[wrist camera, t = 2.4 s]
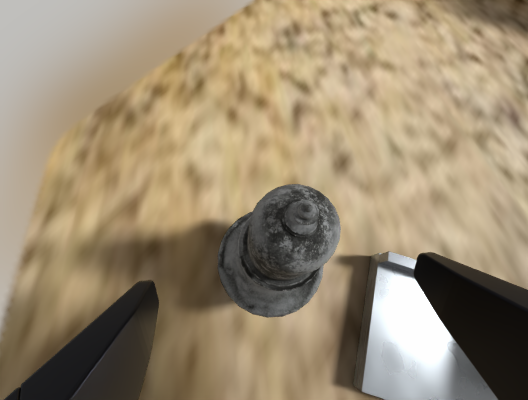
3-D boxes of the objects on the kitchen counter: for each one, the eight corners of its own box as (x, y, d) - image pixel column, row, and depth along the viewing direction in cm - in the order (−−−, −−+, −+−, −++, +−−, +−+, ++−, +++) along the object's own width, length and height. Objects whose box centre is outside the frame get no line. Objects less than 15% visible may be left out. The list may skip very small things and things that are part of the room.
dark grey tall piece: (204, 261, 17) (134, 188, 6) (269, 209, 19) (311, 78, 8) (260, 335, 16) (307, 422, 5) (325, 272, 17) (473, 224, 6)
